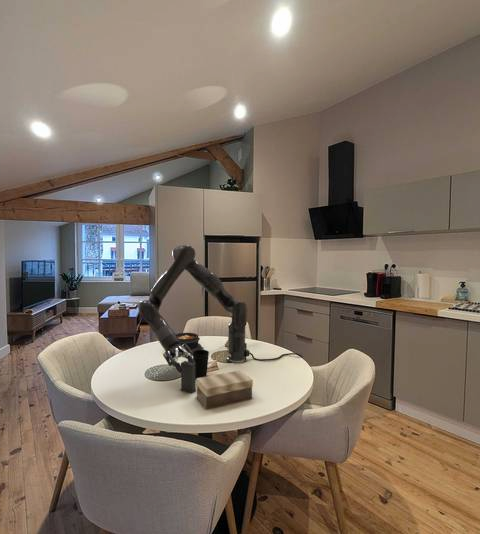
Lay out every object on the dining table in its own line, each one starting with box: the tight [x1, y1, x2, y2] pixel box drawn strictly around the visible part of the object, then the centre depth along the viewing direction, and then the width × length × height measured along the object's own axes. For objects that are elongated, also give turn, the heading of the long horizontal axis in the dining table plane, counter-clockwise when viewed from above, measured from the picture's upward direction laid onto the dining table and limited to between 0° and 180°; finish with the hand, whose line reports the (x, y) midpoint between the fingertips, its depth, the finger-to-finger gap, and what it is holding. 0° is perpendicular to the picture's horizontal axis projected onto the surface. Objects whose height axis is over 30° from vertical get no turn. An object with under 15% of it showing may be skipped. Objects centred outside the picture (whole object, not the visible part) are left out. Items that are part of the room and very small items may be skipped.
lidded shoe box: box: [196, 369, 254, 410], centre depth 126 cm, size 20×11×8 cm, turn 116°
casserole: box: [175, 332, 204, 353], centre depth 189 cm, size 25×19×8 cm
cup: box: [192, 349, 210, 380], centre depth 147 cm, size 8×8×12 cm
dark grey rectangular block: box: [180, 360, 196, 394], centre depth 133 cm, size 3×6×12 cm, turn 60°
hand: (188, 368), depth 133 cm, fingers open, 8 cm apart
